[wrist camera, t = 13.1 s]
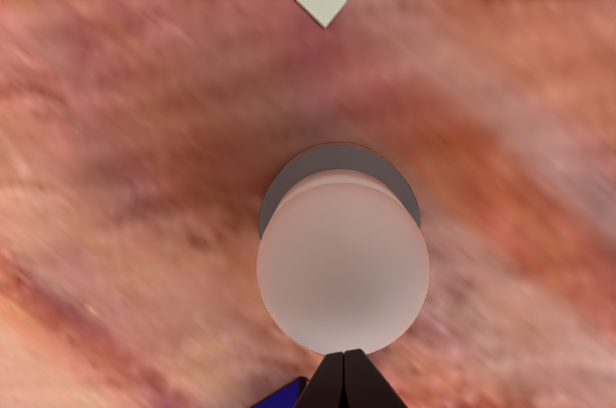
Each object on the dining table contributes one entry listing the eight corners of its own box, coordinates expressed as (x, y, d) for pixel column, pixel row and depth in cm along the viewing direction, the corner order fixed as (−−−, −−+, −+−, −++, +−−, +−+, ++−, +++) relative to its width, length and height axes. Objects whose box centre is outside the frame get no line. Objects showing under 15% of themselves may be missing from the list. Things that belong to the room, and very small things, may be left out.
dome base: (394, 127, 20) (405, 130, 17) (417, 261, 21) (431, 285, 19) (252, 160, 20) (240, 168, 18) (287, 286, 22) (280, 312, 19)
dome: (395, 154, 16) (438, 184, 10) (418, 285, 17) (468, 384, 11) (255, 185, 16) (210, 232, 10) (289, 309, 18) (268, 414, 12)
